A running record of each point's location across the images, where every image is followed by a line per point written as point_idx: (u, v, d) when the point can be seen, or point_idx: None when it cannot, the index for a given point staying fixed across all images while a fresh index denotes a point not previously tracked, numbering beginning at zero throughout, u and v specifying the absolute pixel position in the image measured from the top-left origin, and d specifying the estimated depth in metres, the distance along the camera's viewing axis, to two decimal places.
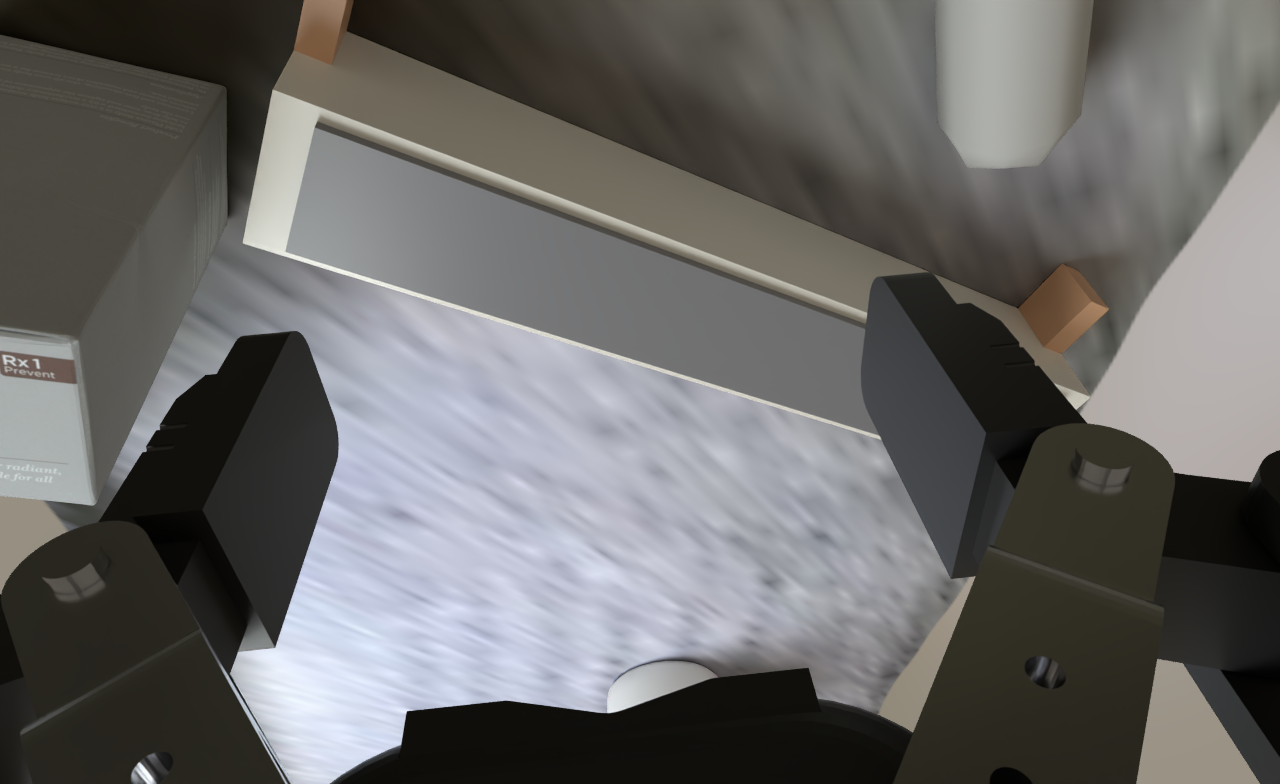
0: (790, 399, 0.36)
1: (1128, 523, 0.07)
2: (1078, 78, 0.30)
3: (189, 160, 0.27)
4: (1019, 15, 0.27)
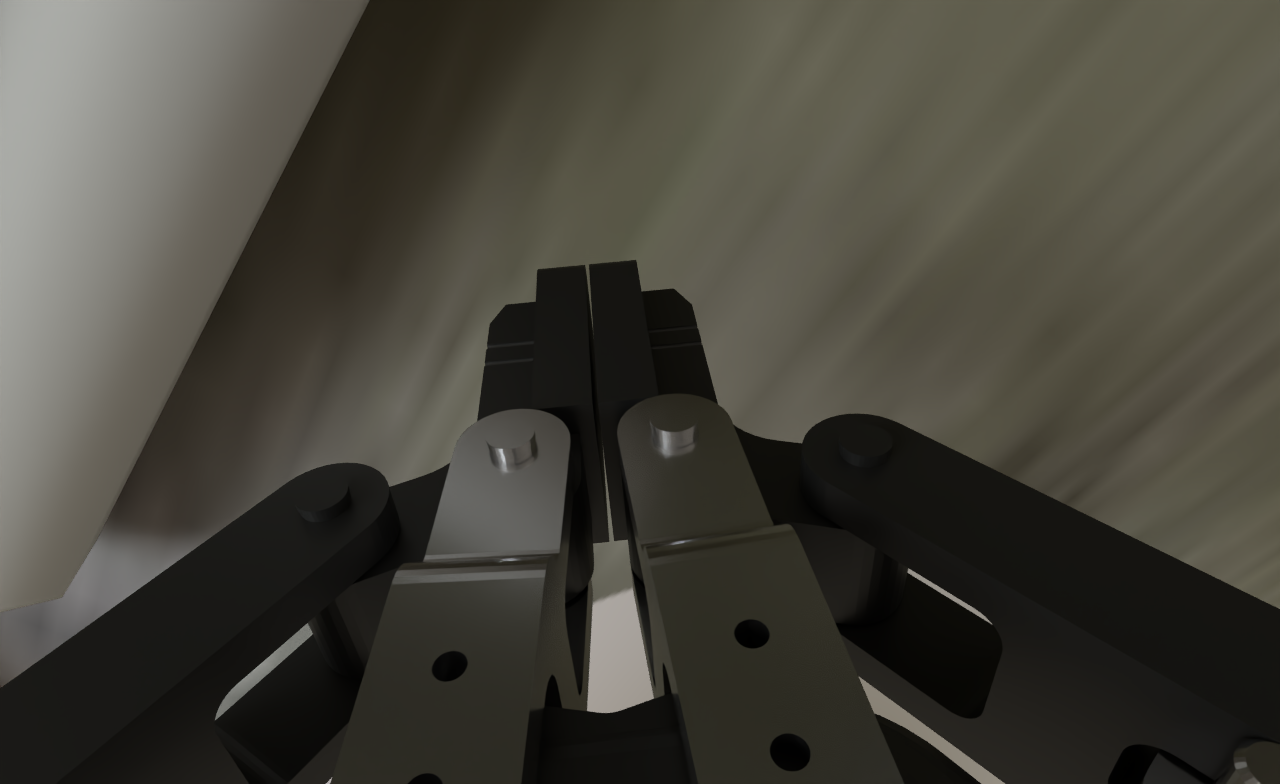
0: None
1: (664, 479, 0.08)
2: (57, 562, 0.20)
3: None
4: None
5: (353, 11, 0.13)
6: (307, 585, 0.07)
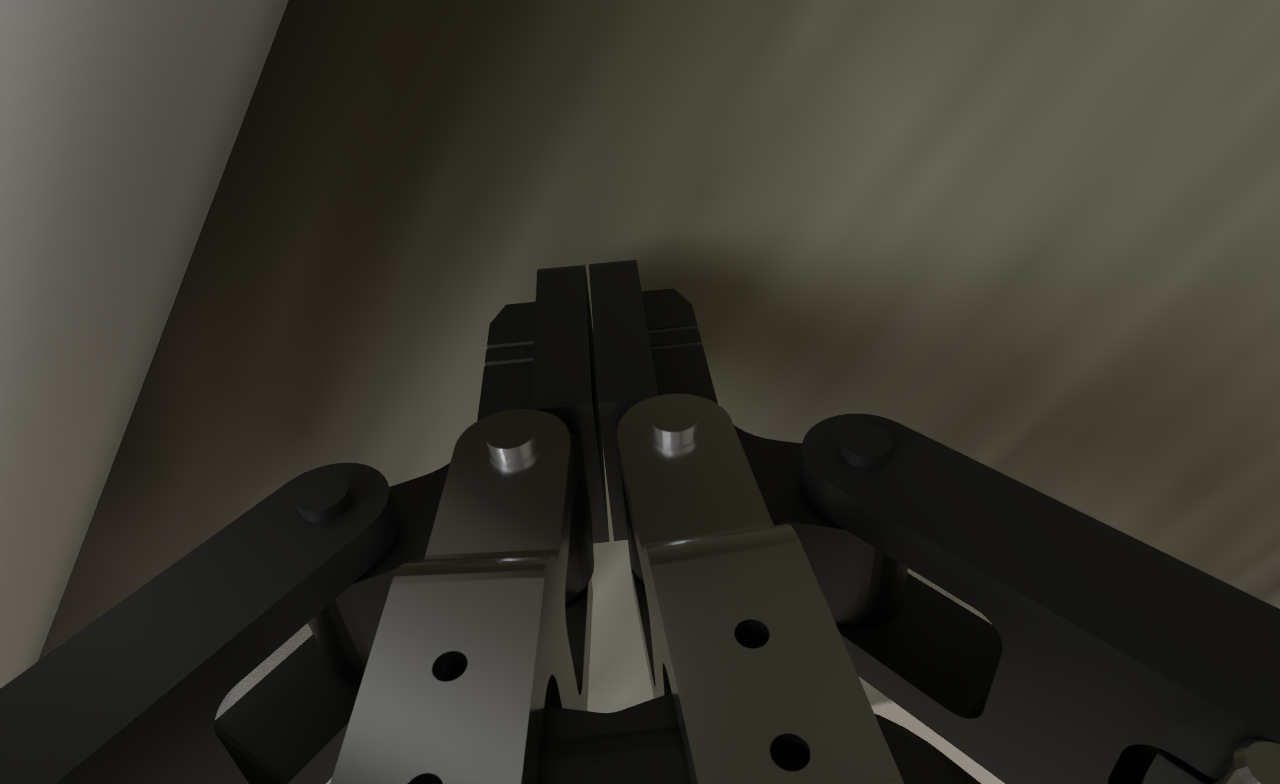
0: None
1: (665, 478, 0.08)
2: None
3: None
4: None
5: (225, 65, 0.08)
6: (306, 587, 0.07)
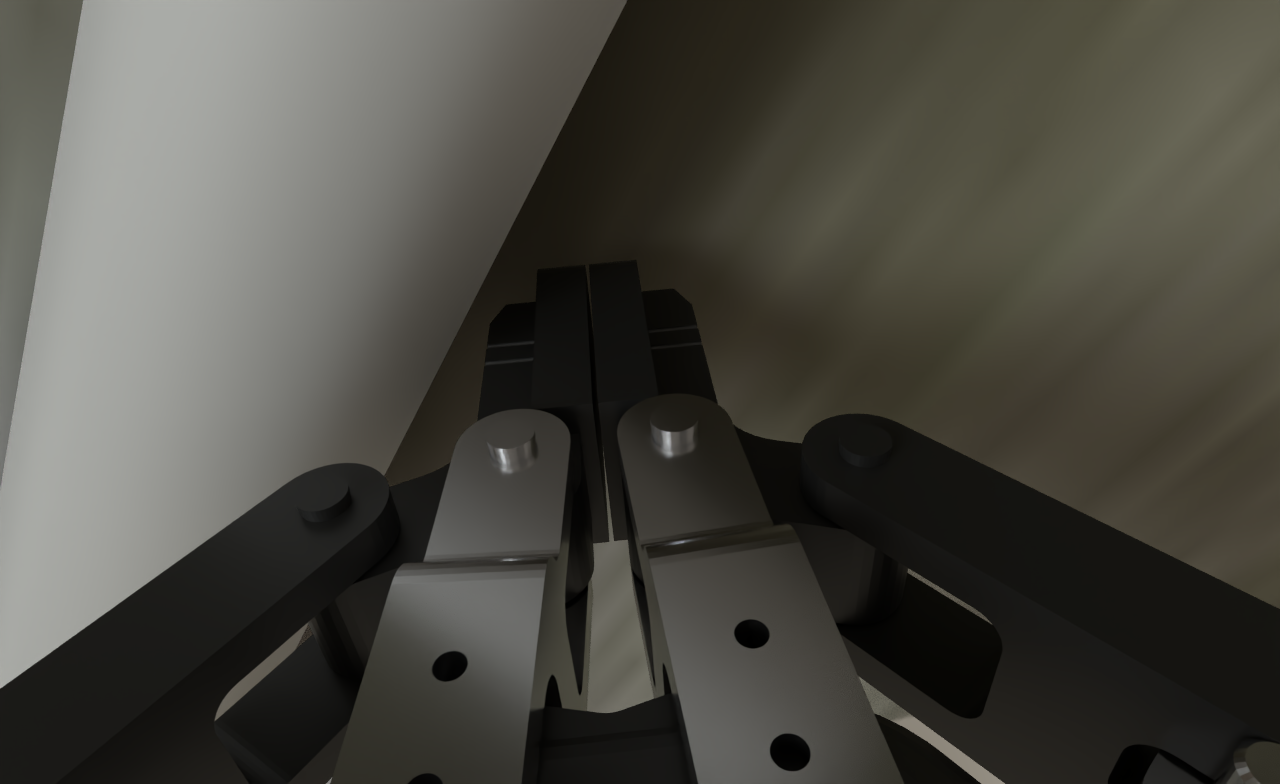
0: None
1: (664, 479, 0.08)
2: None
3: None
4: None
5: None
6: (307, 586, 0.07)
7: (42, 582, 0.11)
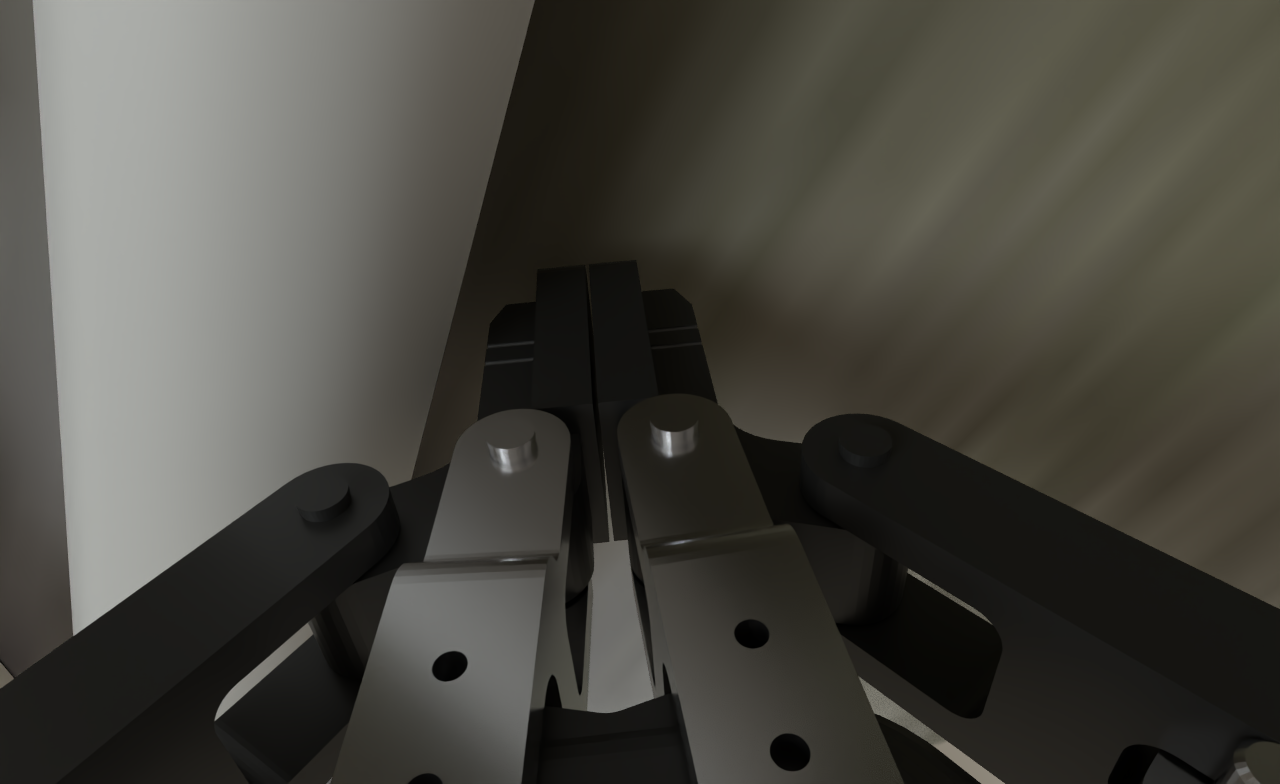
0: None
1: (664, 478, 0.08)
2: None
3: None
4: None
5: None
6: (307, 586, 0.07)
7: (107, 511, 0.10)
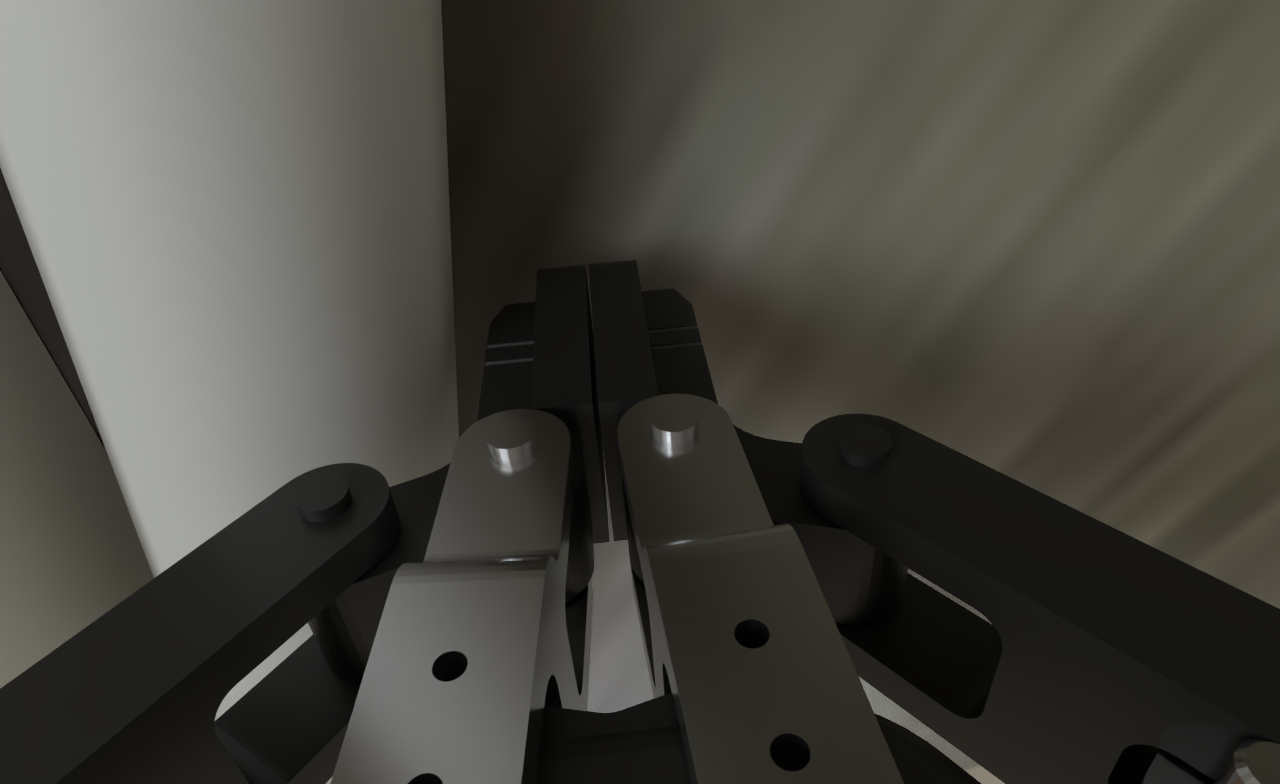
0: None
1: (664, 479, 0.08)
2: None
3: None
4: None
5: None
6: (307, 586, 0.07)
7: (140, 489, 0.10)
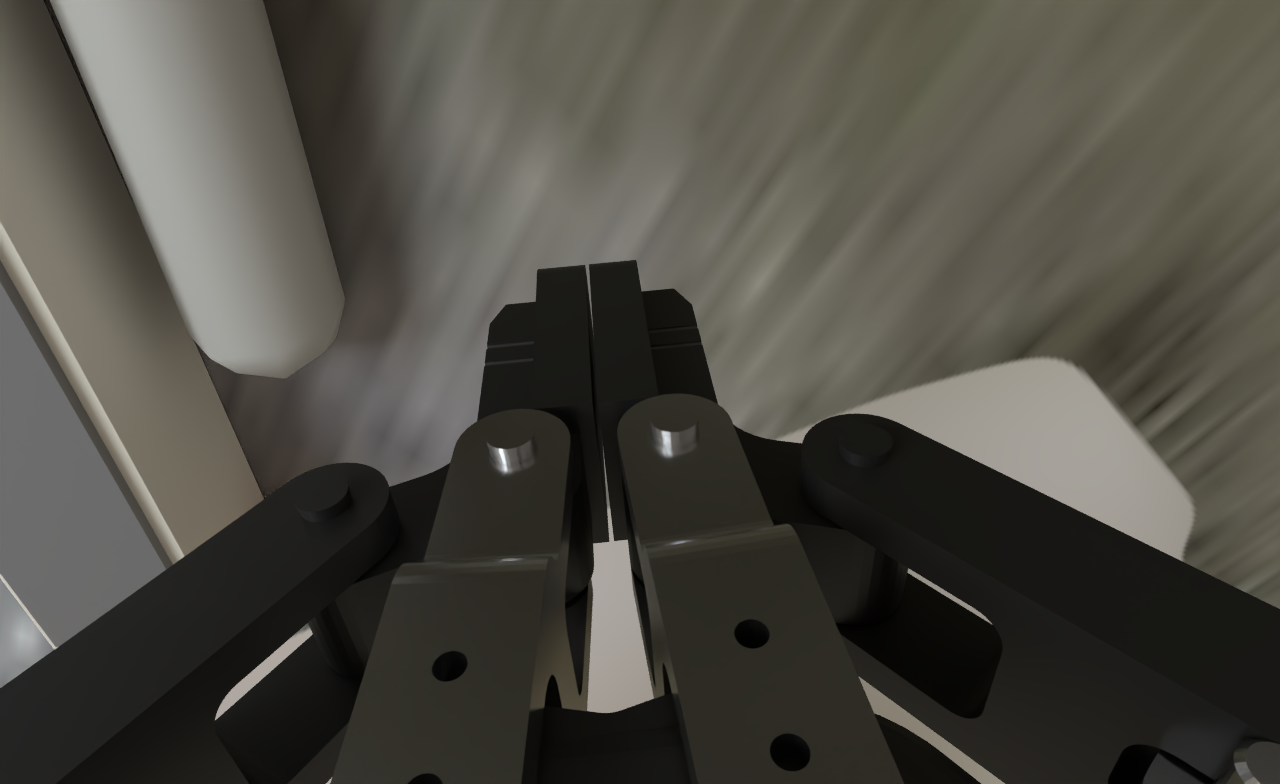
0: None
1: (664, 478, 0.08)
2: (304, 287, 0.25)
3: None
4: (168, 195, 0.22)
5: None
6: (307, 586, 0.07)
7: (122, 138, 0.21)
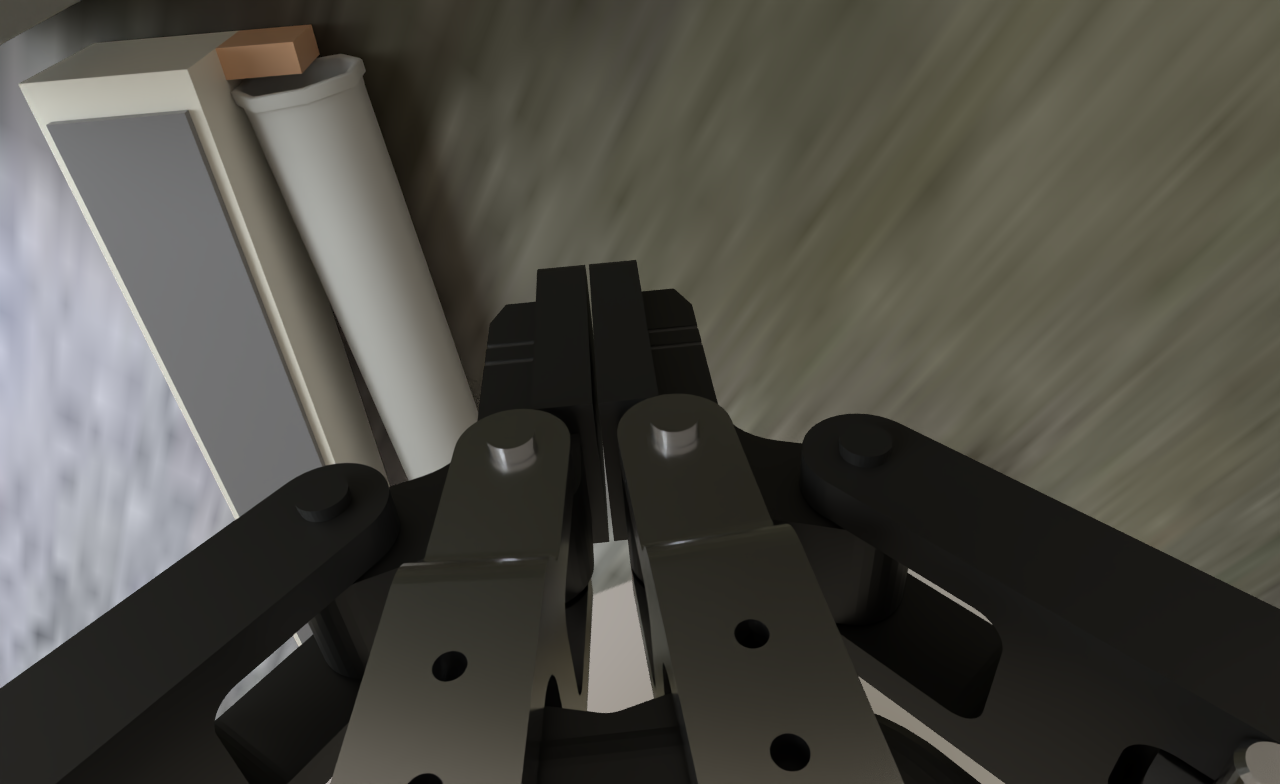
0: None
1: (664, 479, 0.08)
2: None
3: None
4: (414, 442, 0.43)
5: (398, 218, 0.36)
6: (306, 585, 0.07)
7: (394, 422, 0.42)
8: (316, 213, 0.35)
